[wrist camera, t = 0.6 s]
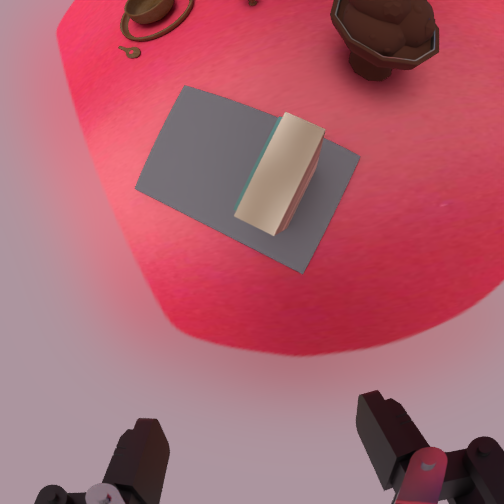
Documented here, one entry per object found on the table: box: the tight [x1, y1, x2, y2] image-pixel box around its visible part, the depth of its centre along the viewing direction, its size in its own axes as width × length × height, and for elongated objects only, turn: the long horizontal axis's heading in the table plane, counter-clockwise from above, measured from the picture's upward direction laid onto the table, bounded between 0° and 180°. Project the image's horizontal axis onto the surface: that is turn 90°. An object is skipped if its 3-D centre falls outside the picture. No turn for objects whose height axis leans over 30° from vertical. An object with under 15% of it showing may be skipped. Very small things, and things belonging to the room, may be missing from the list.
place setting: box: [118, 0, 257, 58], centre depth 28 cm, size 18×20×6 cm
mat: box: [135, 86, 360, 274], centre depth 31 cm, size 22×14×1 cm, turn 64°
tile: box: [233, 112, 326, 236], centre depth 23 cm, size 3×7×14 cm, turn 154°
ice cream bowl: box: [330, 0, 439, 81], centre depth 20 cm, size 11×11×15 cm
